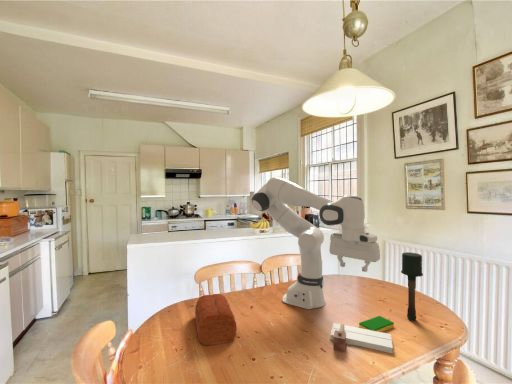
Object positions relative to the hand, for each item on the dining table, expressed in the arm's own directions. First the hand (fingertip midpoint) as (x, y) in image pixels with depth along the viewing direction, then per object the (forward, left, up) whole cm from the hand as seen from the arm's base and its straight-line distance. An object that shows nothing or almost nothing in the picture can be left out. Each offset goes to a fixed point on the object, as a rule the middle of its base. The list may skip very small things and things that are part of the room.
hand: (353, 268), depth 107 cm
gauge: (-4, -7, -27) cm, 28 cm away
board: (+3, -2, -27) cm, 27 cm away
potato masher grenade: (+24, +25, -27) cm, 44 cm away
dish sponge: (+9, +11, -28) cm, 31 cm away
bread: (-56, -17, -28) cm, 64 cm away
